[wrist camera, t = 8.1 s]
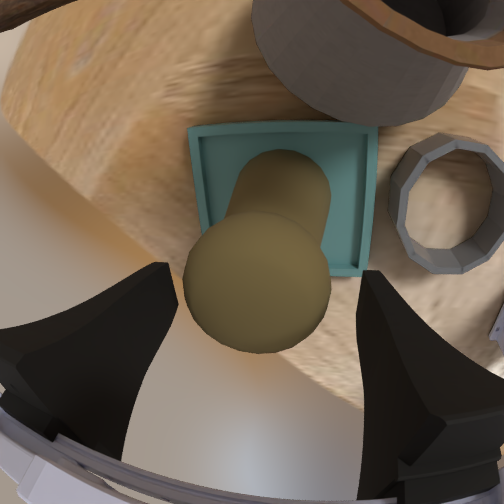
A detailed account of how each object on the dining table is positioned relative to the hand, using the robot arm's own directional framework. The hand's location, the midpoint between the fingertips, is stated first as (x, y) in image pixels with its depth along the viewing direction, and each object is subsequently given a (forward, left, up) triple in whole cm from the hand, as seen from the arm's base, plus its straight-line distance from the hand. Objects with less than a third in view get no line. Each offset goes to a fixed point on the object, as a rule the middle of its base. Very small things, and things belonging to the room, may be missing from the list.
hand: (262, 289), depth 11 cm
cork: (0, 0, -9) cm, 9 cm away
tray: (0, 0, -10) cm, 10 cm away
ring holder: (+1, -11, -10) cm, 15 cm away
